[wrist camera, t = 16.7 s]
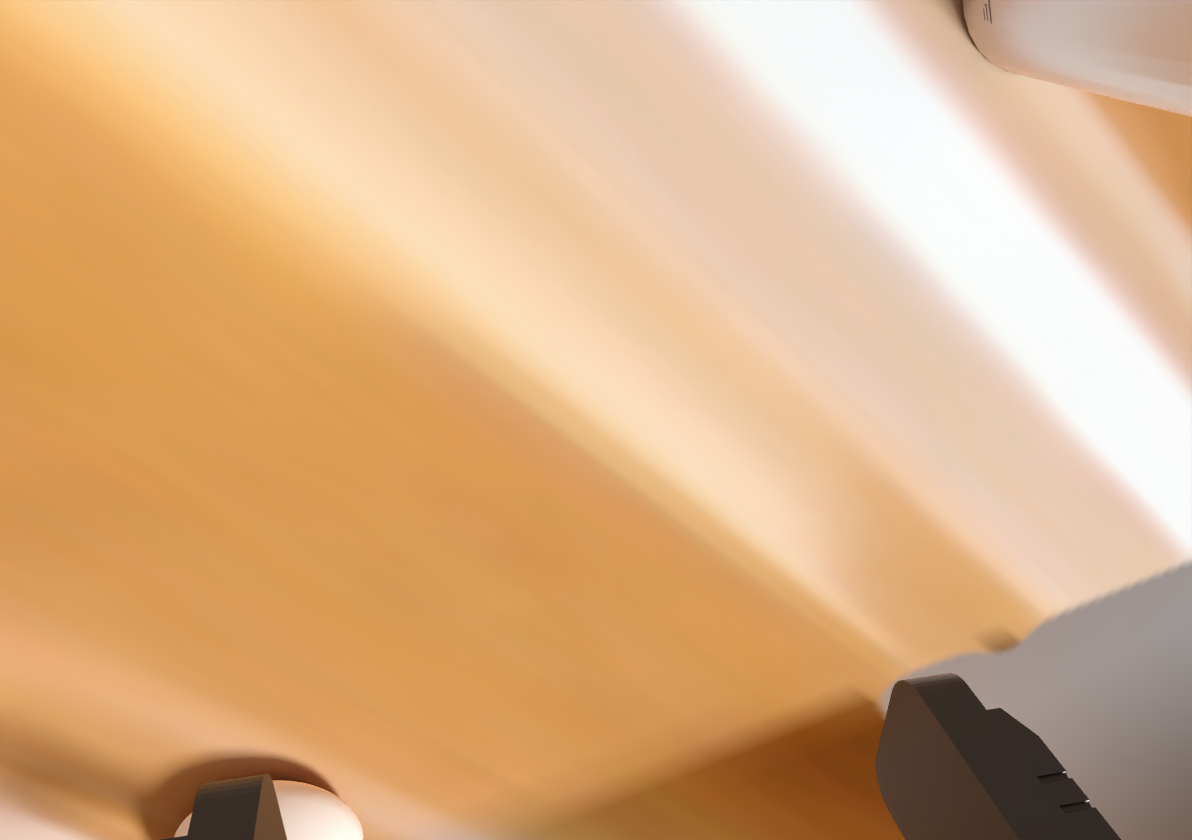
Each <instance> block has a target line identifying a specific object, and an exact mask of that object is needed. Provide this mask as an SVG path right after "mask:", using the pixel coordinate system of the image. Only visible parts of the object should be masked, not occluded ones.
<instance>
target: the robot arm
mask: <svg viewBox="0 0 1192 840" xmlns="http://www.w3.org/2000/svg"><path fill="white" fill-rule="evenodd" d="M963 12H964V17H965V21H966V24H967V28H968V31H969V34H970V36H971V38H972V39H973V41H974V43H975V45H976V47H977V48H978V50H979V51H980V52H981V53H982V54H983V55H984V56H985V57H986V58H987V59H988V60H989V61H990V62H991V63H992V64H994V65H996V66H997V67H999V68H1001V69H1003V70H1005V71H1007V72H1011V73H1015V74H1019V75H1023V76H1027V77H1031V78H1035V79H1039V80H1043V81H1047V82H1051V83H1055V84H1059V85H1063V86H1066V87H1070V88H1074V89H1078V90H1082V91H1087V92H1091V93H1095V94H1099V95H1103V96H1107V97H1112V98H1116V99H1120V100H1124V101H1128V102H1132V103H1137V104H1141V105H1145V106H1149V107H1153V108H1158V109H1162V110H1166V111H1170V112H1174V113H1178V114H1183V115H1187V116H1191V117H1192V0H963ZM876 773H877V780H878V784H879V788H880V791H881V794H882V797H883V799H884V802H885V804H886V806H887V808H888V810H889V812H890V813H891V815H892V817H893V819H894V820H895V822H896V824H897V826H898V828H899V829H900V831H901V833H902V835H903V836H904V838H905V840H1121V839H1120V838H1119V837H1118V835H1117V834H1116V833H1115V831H1114V830H1113V829H1112V828H1111V827H1110V826H1109V824H1108V823H1107V821H1106V820H1105V819H1104V818H1103V816H1102V815H1101V814H1100V813H1099V811H1098V810H1097V809H1096V808H1092V807H1091V806H1090V803H1089V799H1088V798H1087V796H1086V795H1085V794H1084V793H1083V791H1082V790H1081V789H1080V788H1079V786H1078V785H1077V784H1076V783H1075V781H1074V780H1073V779H1072V778H1070V779H1069V778H1068V777H1067V774H1066V770H1065V769H1064V768H1063V767H1062V765H1061V764H1060V762H1059V761H1058V760H1057V759H1056V758H1055V756H1054V755H1053V754H1052V752H1051V751H1050V750H1049V749H1048V747H1047V746H1046V745H1045V744H1044V742H1043V741H1042V740H1041V739H1040V738H1039V736H1038V735H1036V734H1035V733H1034V732H1032V731H1031V730H1030V729H1028V728H1027V727H1025V726H1024V725H1023V724H1021V723H1020V722H1019V721H1017V720H1016V719H1014V718H1013V717H1012V716H1011V715H1009V714H1008V713H1007V712H1005V711H1004V710H1002V709H1001V708H997V709H990V710H986V709H985V707H984V706H983V705H982V703H981V702H980V701H979V700H978V698H977V697H976V696H975V694H974V693H973V692H972V690H971V689H970V688H969V686H968V685H967V684H966V683H965V681H963V679H961V678H960V677H959V676H957V675H955V674H952V673H948V674H941V675H935V676H928V677H922V678H915V679H908V680H901V681H898V682H897V683H896V684H895V686H894V688H893V690H892V694H891V698H890V702H889V706H888V710H887V714H886V718H885V723H884V727H883V731H882V735H881V739H880V743H879V747H878V752H877V756H876ZM162 840H287V837H286V833H285V829H284V825H283V821H282V817H281V813H280V808H279V804H278V800H277V796H276V792H275V788H274V784H273V781H272V778H271V776H270V775H269V774H261V775H255V776H248V777H241V778H235V779H228V780H221V781H215V782H208V783H203V784H202V785H201V786H200V788H199V790H198V792H197V795H196V799H195V803H194V807H193V812H192V816H191V821H190V825H189V830H188V834H187V836H181V837H174V838H168V839H162Z"/></svg>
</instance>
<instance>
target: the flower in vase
mask: <svg viewBox="0 0 1192 840" xmlns="http://www.w3.org/2000/svg"><path fill="white" fill-rule="evenodd" d="M272 781H273V784H274V788H275V792H276V796H277V800H278V804H279V808H280V813H281V817H282V821H283V825H284V829H285V833H286V837H287V840H363V832H362V827H361V825H360V822H359V820H358V818H357V817H356V815H355V814H354V813H353V812H352V810H351V809H350V808H349V807H348V806H347V804H346V803H345V802H344V801H342V800H341V799H340V798H339V797H337V796H336V795H334V794H333V793H331V792H329V791H327V790H325V789H322V788H320V787H317V786H314V785H311V784H307V783H302V782H296V781H285V780H272ZM191 816H192V813H191V814H190V815H188V816H187V817H186V819H185V820H184V821H183V822H182V823H181V825H180V826H179V828H178V830H177V831H176V833H175V836H174V837H181V836H187V834H188V830H189V825H190V821H191Z"/></svg>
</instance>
